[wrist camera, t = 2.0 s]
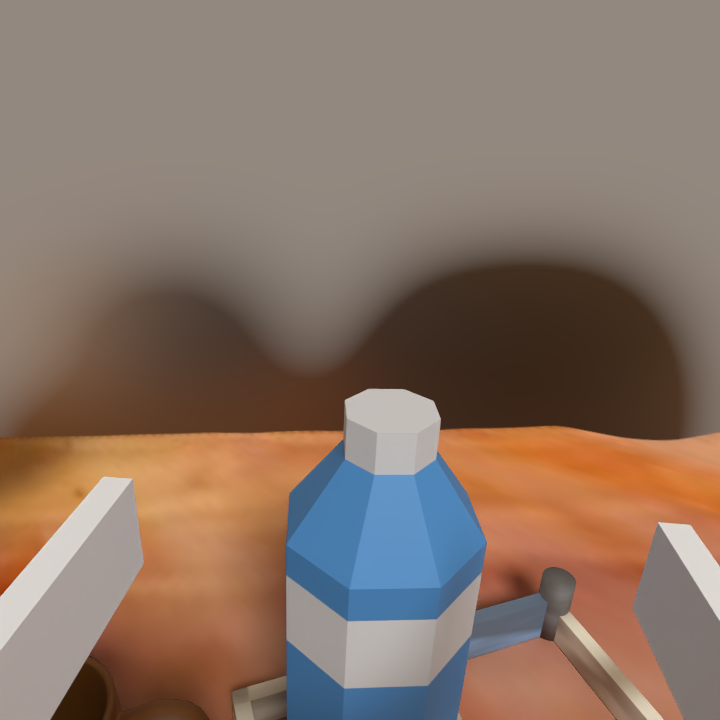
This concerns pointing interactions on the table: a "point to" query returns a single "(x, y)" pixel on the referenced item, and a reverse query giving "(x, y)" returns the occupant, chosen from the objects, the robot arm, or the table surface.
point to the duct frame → (500, 630)
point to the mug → (115, 701)
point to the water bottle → (381, 571)
